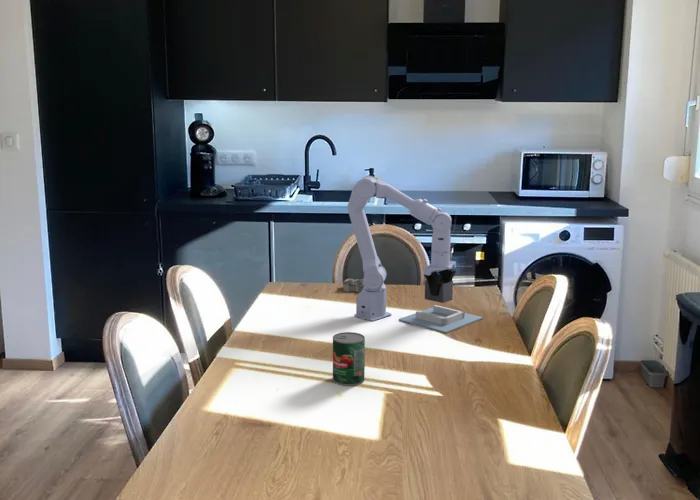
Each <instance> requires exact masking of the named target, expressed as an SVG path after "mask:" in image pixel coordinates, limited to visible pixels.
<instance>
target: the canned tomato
mask: <svg viewBox="0 0 700 500" xmlns="http://www.w3.org/2000/svg"><path fill="white" fill-rule="evenodd" d="M365 340H366V339H365V335H363V334H362V333H358V332H352V331H351V332H350V331H343V332H338V333H335V334H334V335H333V336H332V381H333V382H334V383H335V384H338V385H339V386H345V387H347V386H349V387H352V386H353V387H355V386H359V385H361V384H363V383H364V382H365V370H366V369H365V365H366V364H365V357H366V353H365V351H366V350H365V346H366V345H365V344H366V343H365Z"/></svg>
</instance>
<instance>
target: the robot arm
mask: <svg viewBox="0 0 700 500" xmlns="http://www.w3.org/2000/svg"><path fill="white" fill-rule="evenodd" d="M374 196H375V198H376V199H377V198H381V199H382V198H387V199H389V200H391V201H393V202H394V203H397V204H399V205H401V206H402V207H404V208H406V209H408V210H409V214H410V215H411V216H412V217H414V218H415V219H417V220H419V221H420V222H422V223H423V224H426V225H429V226H431V228H432V236H431V257H430V258H431V259H430V261H431V262H430V264H428V266H427V267H424V268H423V276H424V278H425V280H427V282H428V285H429V289H430V293H431V295H433V296H437V295H438V290H439V283H440V280H441V279H444V280H449V281H453V278H454V276H455V275H456V273H457V270H456V268H457V261H454V260H451V244H452V243H451V240H452V239H451V233H452V232H451V228H452V216H451V215H450V214H449V213H448V212H447V211H446V210H442V208H440V207H436V206H434V205H433V204H430V203H428V199H426V198H423V199H422V198H417V199H413V198H411V197H410V196H408V195H407V194H405V193H403V192H402V191H400V190H398V189H397V188H396V187H394V186H393V185H391V184H389V183H388V182H385V181H383V180H381V179H377V178H376V177H375V176H373V175H365V176H364V177H362V178H361V179H360V180H357V182H356V183H355V185H354V186H353V187H352V189H351V194H350V197H349V200H348V203H347V212H348V215H349V219H350V222H351V223H350V224H351V225H352V230H353V232H354V233H353V234H354V236H355V239H356V240H355V241H356V243H357V247H358V251H359V253H360V258H361V261H362V271H363V278H362V280H363V282H364V288H363V290H362V291H360V292H358V294H357V295H356V299H355V300H356V303H355V304H356V307H355V309H356V311H355V312H356V313H355V314H354V317H356V318H359V319H364V320H367V321H371V322H374V321H379V320H380V319H383V318H386V317H389V316H392V312H387V286H386V284H385V283H384V282H385V281H386V279H387V275H388V274H387V270H386V269H385V267H384V266H383V265H382V263H381V259H380V258H379V256H378V253H377V250H376V247H375V242H374V240H373V236H372V232H371V228H370V226H369V222H368V217H367V215H366V211H365V207H366V206H367V205H368V203H369V201H370V199H371V198H373V197H374Z"/></svg>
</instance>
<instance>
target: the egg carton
mask: <svg viewBox="0 0 700 500" xmlns="http://www.w3.org/2000/svg"><path fill="white" fill-rule="evenodd" d="M342 286H343V287H342V288H343V290H342V291H343V292H346V291H350V292H355V291H356V292H355V293H360V292H362V290H363V288H364V282H363V278H360V279H357V278H356V279H353V278H346V279H345V280H343V283H342ZM359 291H360V292H359Z"/></svg>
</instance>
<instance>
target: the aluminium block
mask: <svg viewBox="0 0 700 500" xmlns="http://www.w3.org/2000/svg"><path fill="white" fill-rule="evenodd" d="M453 285H454V281H453V280H451V281H449V280H444V279H441V280H440V283H439V290H438V295H437V296H433V295H431V293H430V289H429V285H428V282H427V280H426V279H425V280H424V300H426V301H432V302H436V303H441V304H445V303H447V302H451V301H452V300H453V295H454V294H453V291H454V290H453V287H454V286H453Z"/></svg>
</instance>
